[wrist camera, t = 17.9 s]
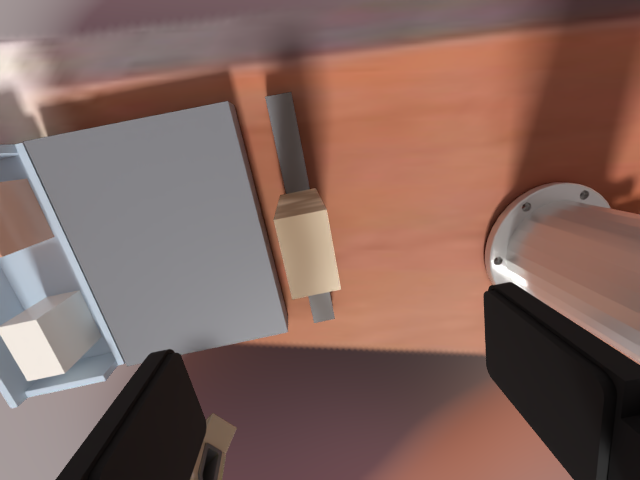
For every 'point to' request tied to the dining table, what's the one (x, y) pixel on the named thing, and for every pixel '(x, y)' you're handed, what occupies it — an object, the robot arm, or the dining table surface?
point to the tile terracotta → (20, 217)
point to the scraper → (301, 218)
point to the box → (46, 293)
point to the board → (166, 229)
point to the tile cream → (51, 335)
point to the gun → (213, 449)
